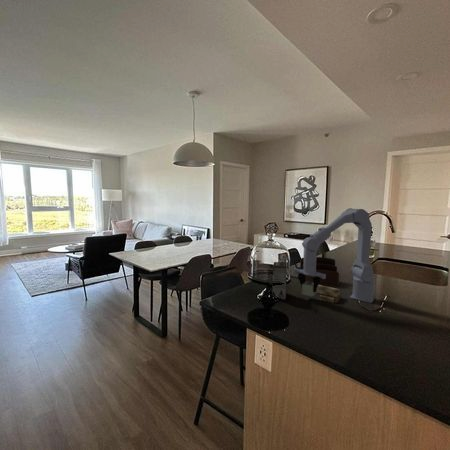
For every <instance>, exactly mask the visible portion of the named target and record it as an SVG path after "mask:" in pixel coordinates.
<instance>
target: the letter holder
mask: <svg viewBox="0 0 450 450" xmlns="http://www.w3.org/2000/svg"><path fill="white" fill-rule="evenodd" d="M303 267H304V257H301V258H300V267H299V269H302V270H303ZM316 272H319V273H323V274H326V278H325V279H321V280H320V282H319V284H318V285H322V286H340V282H339V281H340V273H339V272H338V266H337V265H336V259H334V258H330V257H323V256H322V257H321V256H316ZM313 278H315V277H313V276H307V275H306V279H305V282H306V281H311V282H312V283H313Z"/></svg>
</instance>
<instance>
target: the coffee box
mask: <svg viewBox="0 0 450 450" xmlns="http://www.w3.org/2000/svg"><path fill="white" fill-rule="evenodd" d="M272 266H273V268H272V269H273V271H272V282H273V281H280V282H282V283H284V284H282V285H275V286H273V285H272V292H273V291H274V292H275V294H276V295H277V296H278V297H279V298H281V299H280V300H286V298H287V297H286V296H287V295H286V294H287V272H288V271H287V269H288V268H287V267H288V266H287V262H285V261H284V262H281V261H273V265H272Z"/></svg>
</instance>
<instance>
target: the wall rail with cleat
mask: <svg viewBox="0 0 450 450" xmlns="http://www.w3.org/2000/svg"><path fill="white" fill-rule="evenodd" d="M340 291H341V289H340V288H335V287H331V286H328V285H318V287H317V291H316V294H319V293H320V295H319V297H318V300H319V301H322V300H323V302H326V301H328V302H327V303H330V302H331V303H330V304H334V302H335V304H337V303H338V302H339V301H340V300H341V298H342V297H341V296H342V293H341V292H340ZM328 295H329V296H328Z"/></svg>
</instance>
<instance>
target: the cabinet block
mask: <svg viewBox="0 0 450 450" xmlns="http://www.w3.org/2000/svg"><path fill="white" fill-rule="evenodd" d="M313 287H314V284H313V283H312V282H311V281H306V282H305V283H303V284H302V287H301V295H303V296H308V297H314V296H315V295H316V294H317V293H316V292H313Z"/></svg>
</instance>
